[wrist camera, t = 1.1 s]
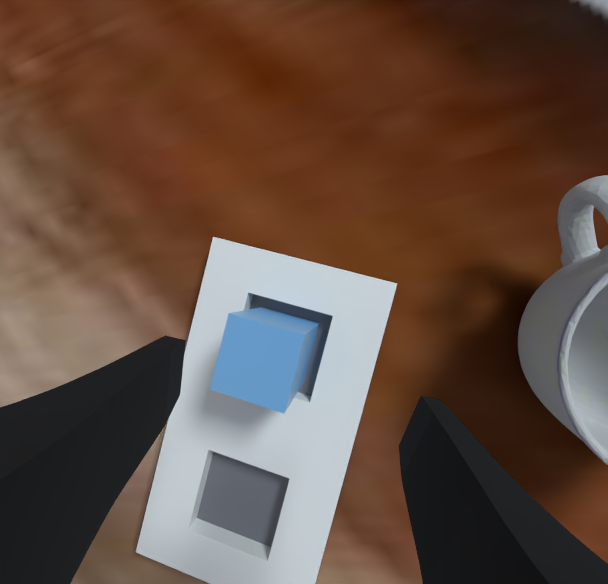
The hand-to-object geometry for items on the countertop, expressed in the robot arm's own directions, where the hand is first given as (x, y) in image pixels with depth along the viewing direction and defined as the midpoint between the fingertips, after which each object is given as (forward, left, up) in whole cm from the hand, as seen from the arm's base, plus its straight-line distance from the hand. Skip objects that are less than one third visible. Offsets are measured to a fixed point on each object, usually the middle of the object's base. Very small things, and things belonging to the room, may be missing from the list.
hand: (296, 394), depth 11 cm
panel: (-7, +3, -13) cm, 15 cm away
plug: (-1, +3, -12) cm, 13 cm away
